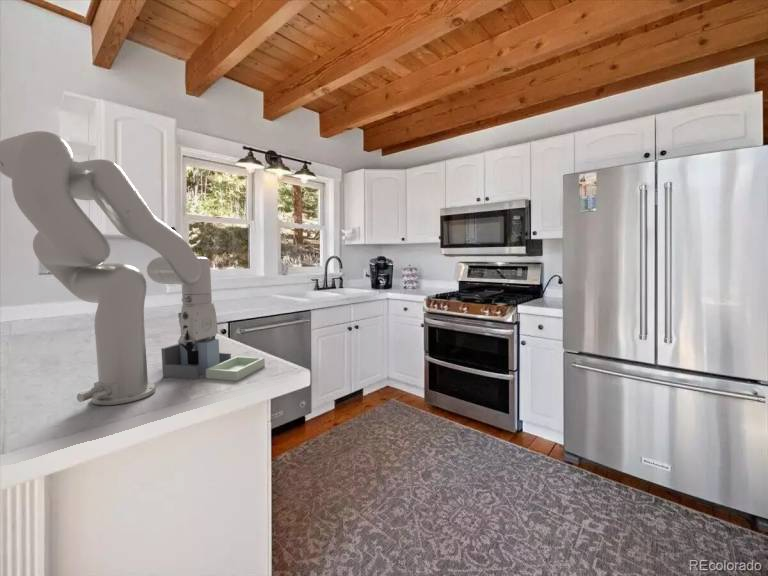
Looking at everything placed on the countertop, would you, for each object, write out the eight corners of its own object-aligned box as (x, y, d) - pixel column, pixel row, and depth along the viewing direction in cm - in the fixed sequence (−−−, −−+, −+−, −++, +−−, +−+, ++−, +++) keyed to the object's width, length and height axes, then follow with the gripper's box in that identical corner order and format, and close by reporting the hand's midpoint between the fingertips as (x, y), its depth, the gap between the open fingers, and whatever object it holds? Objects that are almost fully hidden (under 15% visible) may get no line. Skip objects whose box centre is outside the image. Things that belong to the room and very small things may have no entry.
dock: (196, 379, 99) (195, 350, 98) (163, 376, 102) (161, 348, 101) (231, 364, 113) (230, 338, 113) (200, 362, 116) (199, 337, 115)
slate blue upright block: (208, 374, 104) (206, 340, 103) (181, 372, 106) (179, 338, 105) (219, 368, 109) (218, 336, 108) (194, 367, 111) (192, 335, 110)
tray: (236, 380, 98) (236, 371, 98) (206, 378, 100) (205, 369, 100) (264, 366, 111) (264, 357, 111) (236, 364, 113) (236, 356, 113)
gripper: (186, 303, 97) (189, 371, 98) (227, 296, 113) (230, 354, 115) (162, 303, 98) (166, 369, 100) (206, 296, 115) (209, 353, 116)
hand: (200, 360), depth 107 cm, fingers closed on slate blue upright block, 5 cm apart
